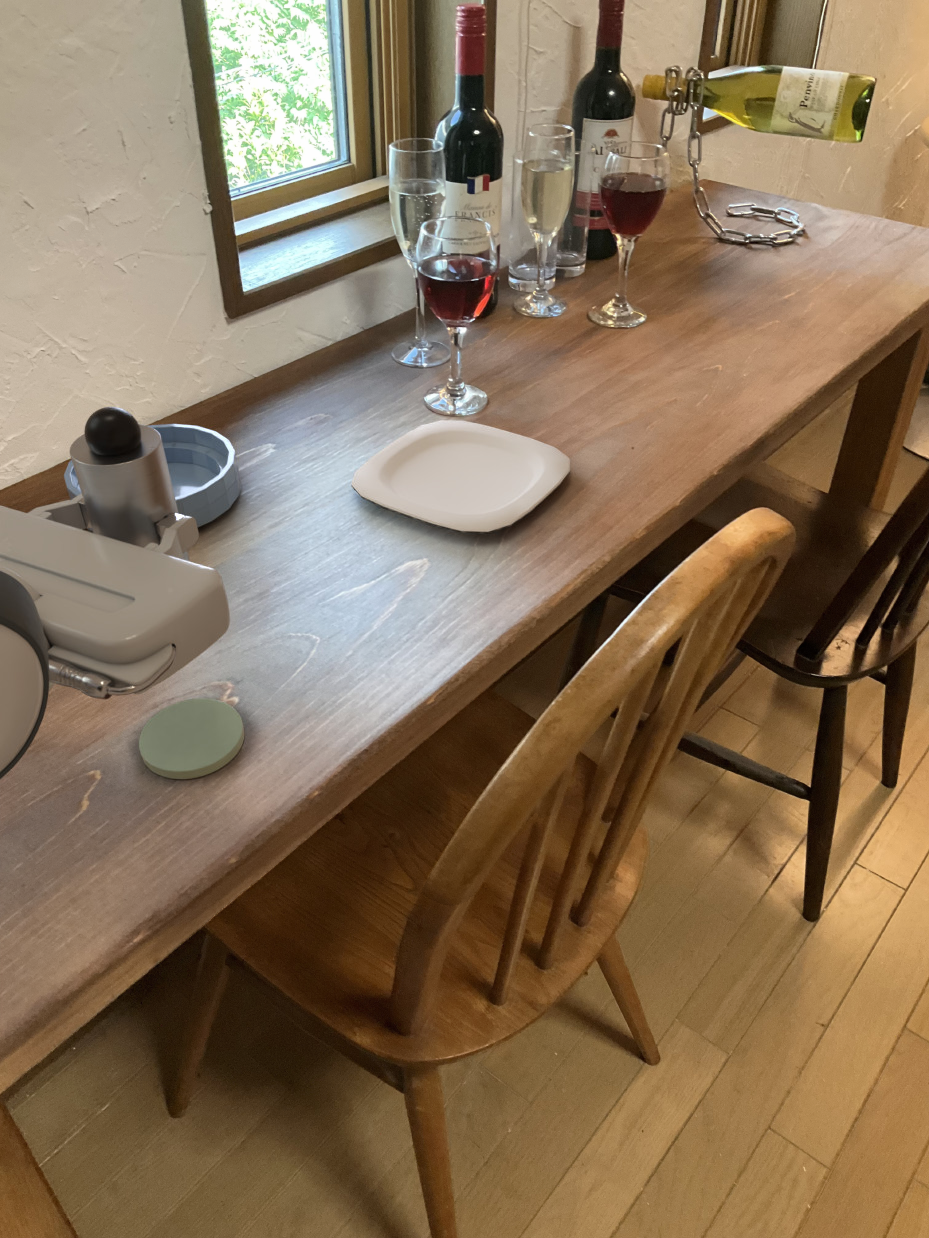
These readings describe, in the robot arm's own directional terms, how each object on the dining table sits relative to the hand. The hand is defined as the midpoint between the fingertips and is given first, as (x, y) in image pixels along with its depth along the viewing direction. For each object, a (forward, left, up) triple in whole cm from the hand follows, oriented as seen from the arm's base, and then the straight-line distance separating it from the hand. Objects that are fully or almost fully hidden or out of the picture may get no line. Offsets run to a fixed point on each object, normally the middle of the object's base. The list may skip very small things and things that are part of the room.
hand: (144, 512), depth 58 cm
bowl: (+3, +30, -17) cm, 35 cm away
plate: (+30, +20, -17) cm, 40 cm away
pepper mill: (-1, -1, -8) cm, 8 cm away
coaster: (-1, -3, -17) cm, 17 cm away
